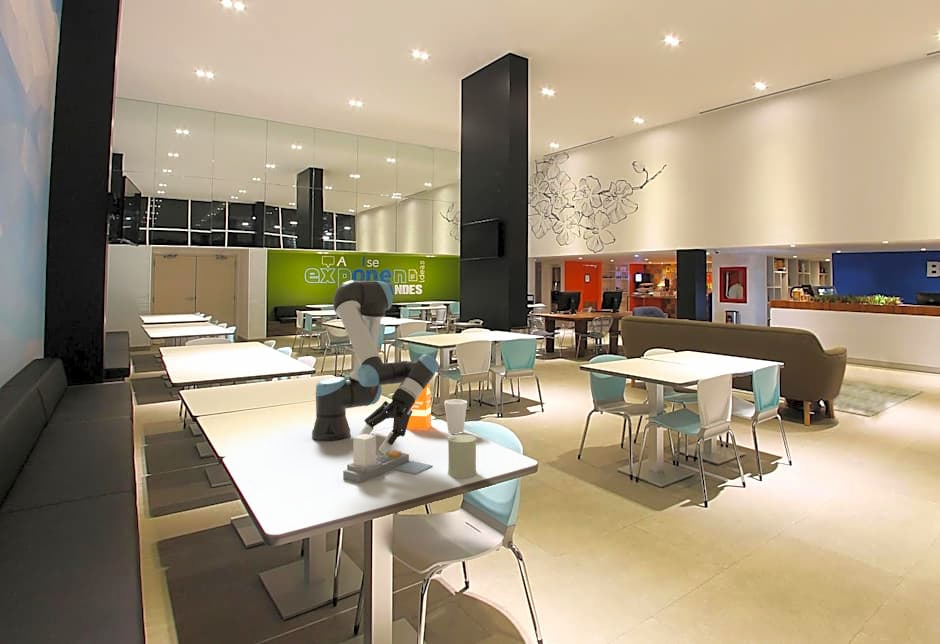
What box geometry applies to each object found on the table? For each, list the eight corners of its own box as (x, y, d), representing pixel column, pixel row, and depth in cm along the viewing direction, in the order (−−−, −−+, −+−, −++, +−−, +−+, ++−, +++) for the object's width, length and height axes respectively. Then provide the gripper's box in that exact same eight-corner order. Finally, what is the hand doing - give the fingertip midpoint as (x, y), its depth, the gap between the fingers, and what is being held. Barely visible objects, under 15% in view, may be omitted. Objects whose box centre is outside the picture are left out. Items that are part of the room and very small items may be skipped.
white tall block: (353, 468, 162) (353, 437, 161) (364, 463, 166) (364, 433, 165) (365, 471, 159) (364, 439, 158) (376, 466, 163) (375, 435, 163)
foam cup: (464, 435, 208) (464, 404, 207) (442, 434, 210) (442, 403, 209) (468, 429, 217) (468, 399, 217) (447, 428, 219) (447, 398, 218)
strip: (342, 478, 160) (342, 466, 159) (392, 457, 180) (392, 447, 180) (360, 483, 155) (360, 471, 155) (409, 461, 176) (409, 451, 176)
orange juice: (426, 430, 217) (426, 383, 216) (406, 429, 218) (406, 383, 217) (431, 425, 224) (431, 380, 223) (412, 424, 226) (411, 380, 225)
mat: (394, 469, 168) (394, 468, 168) (411, 461, 175) (411, 460, 175) (415, 474, 163) (415, 473, 163) (432, 466, 171) (432, 465, 171)
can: (447, 468, 169) (447, 433, 168) (474, 468, 169) (475, 432, 169) (448, 478, 159) (448, 441, 159) (477, 478, 160) (477, 440, 159)
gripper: (436, 406, 165) (399, 462, 155) (392, 395, 183) (356, 445, 173) (423, 392, 161) (384, 449, 151) (379, 383, 179) (342, 433, 169)
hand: (369, 447), depth 162 cm, fingers open, 13 cm apart
